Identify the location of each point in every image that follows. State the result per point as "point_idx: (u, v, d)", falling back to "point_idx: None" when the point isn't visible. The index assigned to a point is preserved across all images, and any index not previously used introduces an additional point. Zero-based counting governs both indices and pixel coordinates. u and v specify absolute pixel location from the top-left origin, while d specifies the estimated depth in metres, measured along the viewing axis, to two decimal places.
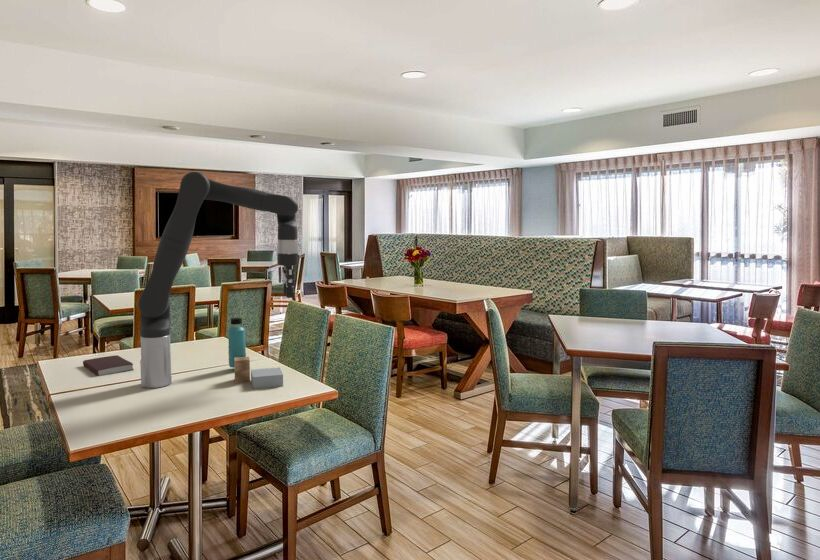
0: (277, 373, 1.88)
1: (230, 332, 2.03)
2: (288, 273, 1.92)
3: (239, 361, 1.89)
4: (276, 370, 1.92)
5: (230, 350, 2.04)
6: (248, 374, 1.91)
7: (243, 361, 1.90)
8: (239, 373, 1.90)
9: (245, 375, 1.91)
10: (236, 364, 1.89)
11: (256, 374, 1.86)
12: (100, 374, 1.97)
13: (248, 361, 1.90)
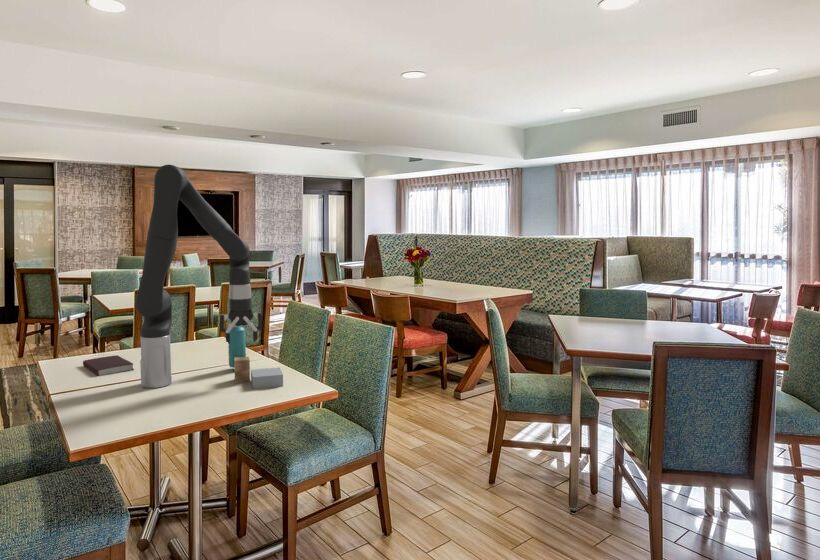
0: (277, 373, 1.88)
1: (230, 332, 2.03)
2: None
3: (239, 361, 1.89)
4: (276, 370, 1.92)
5: (230, 350, 2.04)
6: (248, 374, 1.91)
7: (243, 361, 1.90)
8: (239, 373, 1.90)
9: (245, 375, 1.91)
10: (236, 364, 1.89)
11: (256, 374, 1.86)
12: (100, 374, 1.97)
13: (248, 361, 1.90)
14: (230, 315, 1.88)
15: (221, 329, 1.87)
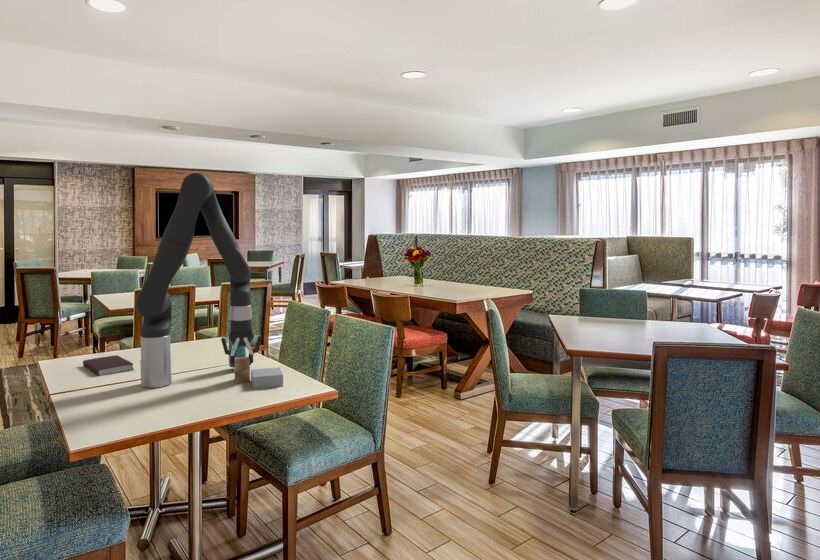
0: (277, 373, 1.88)
1: None
2: (260, 340, 1.93)
3: (239, 361, 1.89)
4: (276, 370, 1.92)
5: (230, 350, 2.04)
6: (248, 374, 1.91)
7: (243, 361, 1.90)
8: (239, 372, 1.90)
9: (245, 375, 1.91)
10: (236, 364, 1.89)
11: (256, 374, 1.86)
12: (100, 374, 1.97)
13: (248, 361, 1.90)
14: (230, 336, 1.89)
15: (226, 352, 1.89)
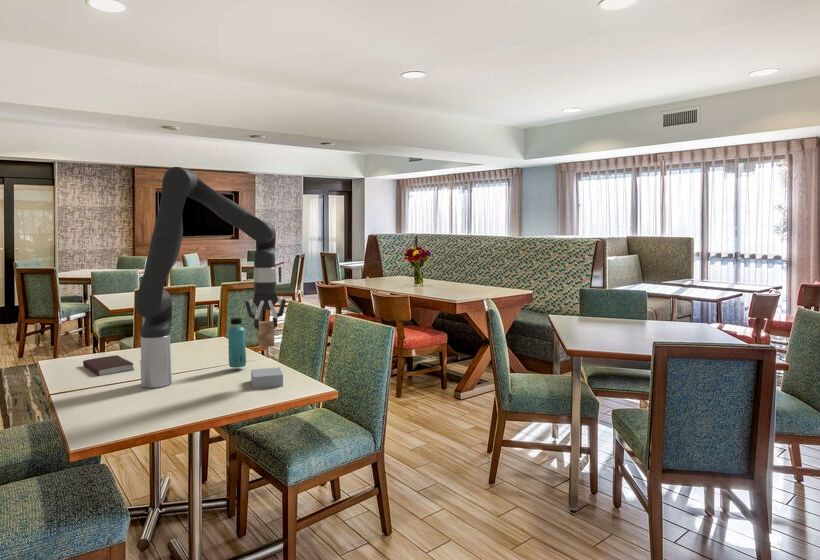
0: (277, 373, 1.88)
1: (230, 332, 2.03)
2: (284, 303, 1.89)
3: (263, 324, 1.85)
4: (276, 370, 1.92)
5: (230, 350, 2.04)
6: (272, 338, 1.87)
7: (267, 324, 1.85)
8: (263, 336, 1.85)
9: (269, 339, 1.86)
10: (260, 327, 1.85)
11: (256, 374, 1.86)
12: (101, 374, 1.97)
13: (272, 324, 1.86)
14: (254, 299, 1.85)
15: (250, 315, 1.84)
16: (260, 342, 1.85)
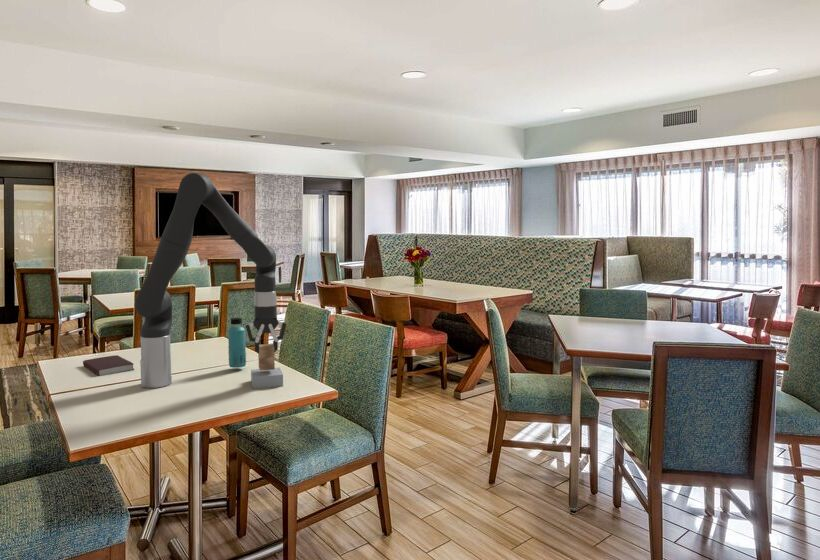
0: (277, 373, 1.88)
1: (230, 332, 2.03)
2: None
3: (264, 348, 1.86)
4: (276, 370, 1.92)
5: (230, 350, 2.04)
6: (273, 361, 1.87)
7: (268, 348, 1.86)
8: (264, 360, 1.86)
9: (270, 363, 1.87)
10: (261, 351, 1.86)
11: (256, 374, 1.86)
12: (101, 374, 1.97)
13: (273, 348, 1.87)
14: (255, 323, 1.85)
15: (250, 339, 1.85)
16: (260, 366, 1.86)
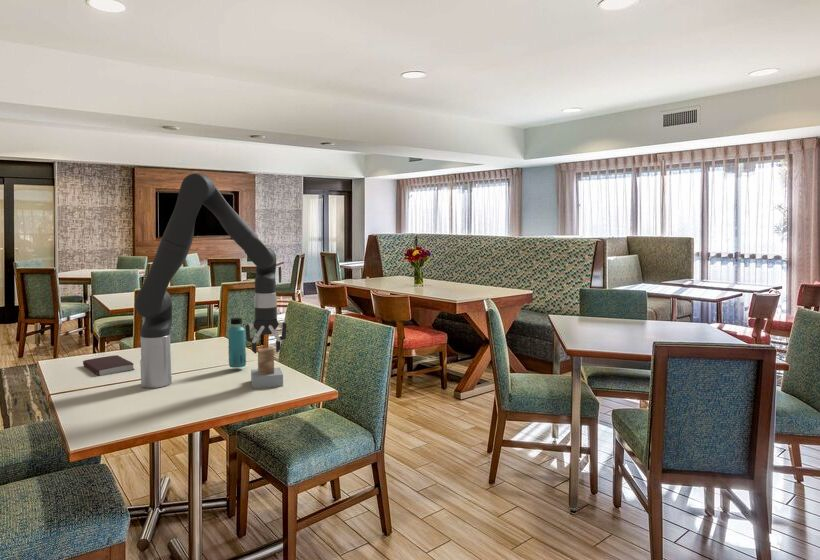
0: (277, 373, 1.88)
1: (230, 332, 2.03)
2: None
3: (263, 352, 1.86)
4: (276, 370, 1.92)
5: (230, 350, 2.04)
6: (272, 365, 1.87)
7: (267, 352, 1.86)
8: (263, 364, 1.86)
9: (269, 367, 1.87)
10: (260, 355, 1.86)
11: (256, 374, 1.86)
12: (101, 374, 1.97)
13: (272, 352, 1.87)
14: (255, 324, 1.85)
15: (248, 339, 1.85)
16: (260, 370, 1.86)
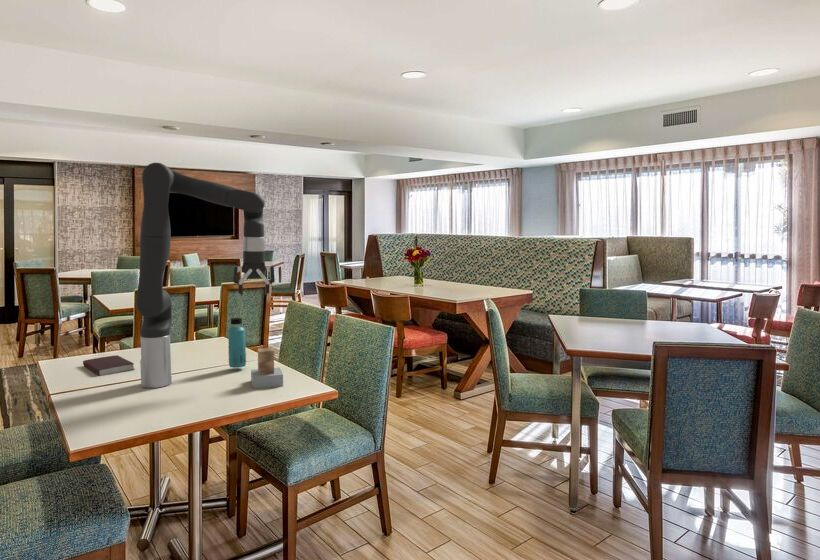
0: (277, 373, 1.88)
1: (230, 332, 2.03)
2: (273, 270, 1.95)
3: (263, 352, 1.86)
4: (276, 370, 1.92)
5: (230, 350, 2.04)
6: (272, 365, 1.87)
7: (267, 352, 1.86)
8: (263, 364, 1.86)
9: (269, 367, 1.87)
10: (260, 355, 1.86)
11: (256, 374, 1.86)
12: (101, 374, 1.97)
13: (272, 352, 1.87)
14: (243, 267, 1.91)
15: (234, 280, 1.91)
16: (260, 370, 1.86)
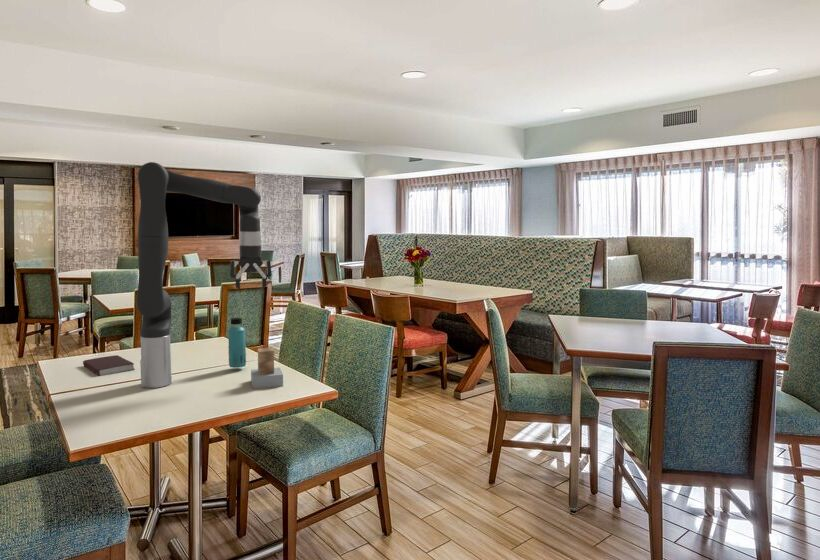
0: (277, 373, 1.88)
1: (230, 332, 2.03)
2: None
3: (263, 352, 1.86)
4: (276, 370, 1.92)
5: (230, 350, 2.04)
6: (272, 365, 1.87)
7: (267, 352, 1.86)
8: (263, 364, 1.86)
9: (269, 367, 1.87)
10: (260, 355, 1.86)
11: (256, 374, 1.86)
12: (101, 374, 1.97)
13: (272, 352, 1.87)
14: (240, 261, 1.93)
15: (231, 275, 1.93)
16: (260, 370, 1.86)
